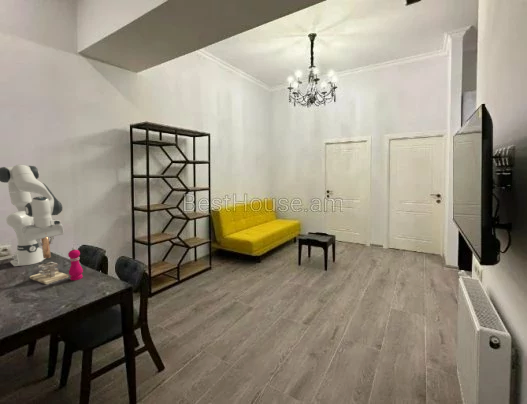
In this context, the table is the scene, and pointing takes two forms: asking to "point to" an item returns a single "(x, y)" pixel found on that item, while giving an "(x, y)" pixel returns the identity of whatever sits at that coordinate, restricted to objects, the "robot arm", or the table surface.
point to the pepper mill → (75, 265)
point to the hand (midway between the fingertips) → (45, 244)
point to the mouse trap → (48, 273)
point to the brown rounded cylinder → (46, 247)
